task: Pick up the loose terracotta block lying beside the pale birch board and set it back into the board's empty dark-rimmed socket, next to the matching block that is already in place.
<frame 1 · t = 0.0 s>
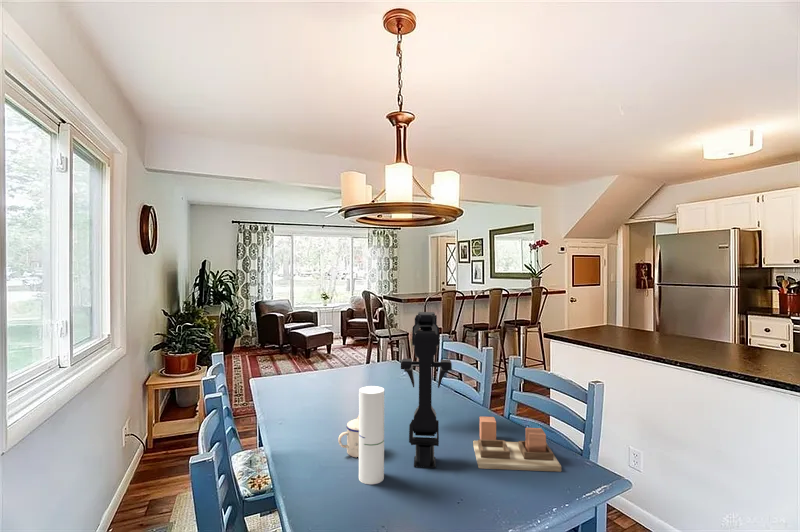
hand: (426, 387, 155), 15 cm above the table, tool pointing down, fingers open, 9 cm apart
cylindrical container: (371, 478, 118), on the table
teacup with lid: (356, 453, 133), on the table
socket board: (514, 457, 131), on the table
loose block: (487, 439, 144), on the table
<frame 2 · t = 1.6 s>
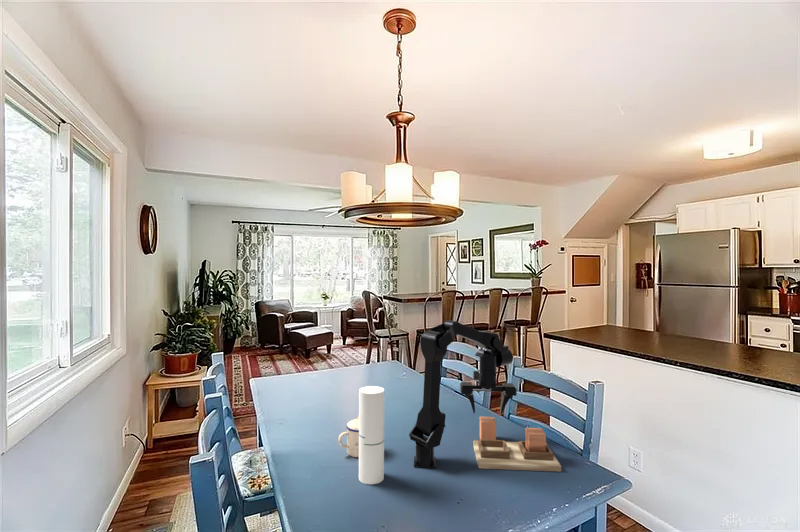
hand: (487, 413, 144), 9 cm above the table, tool pointing down, fingers open, 9 cm apart
nothing on the table moved.
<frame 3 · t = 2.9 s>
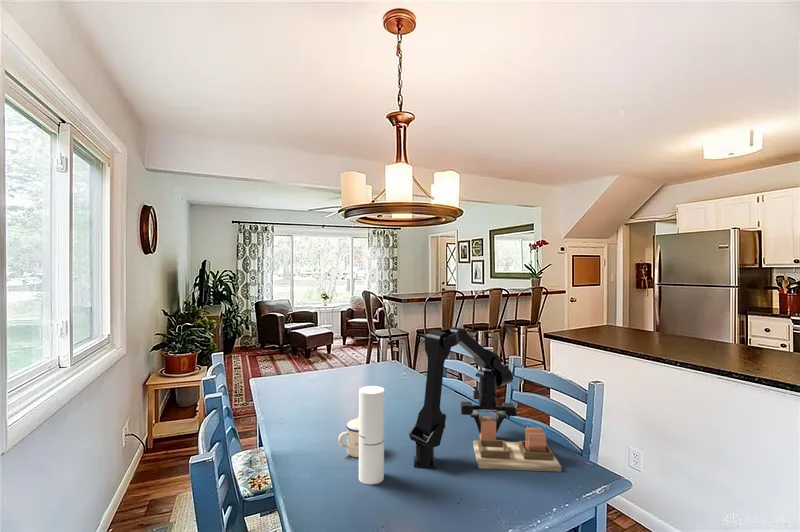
hand: (487, 433, 144), 2 cm above the table, tool pointing down, fingers closed on loose block, 5 cm apart
loose block: (487, 439, 144), on the table, touching gripper
everything else where it was.
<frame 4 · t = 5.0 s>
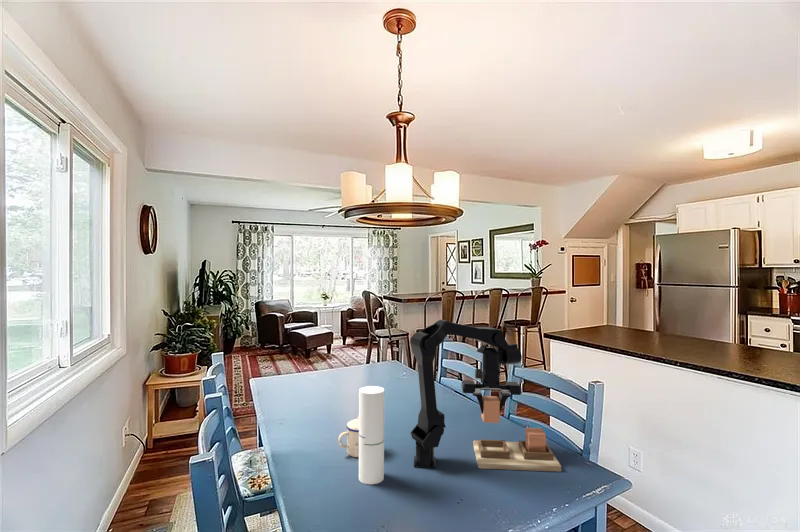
hand: (490, 413, 136), 12 cm above the table, tool pointing down, fingers closed on loose block, 5 cm apart
loose block: (490, 419, 136), point 10 cm above the table, touching gripper
everything else where it was.
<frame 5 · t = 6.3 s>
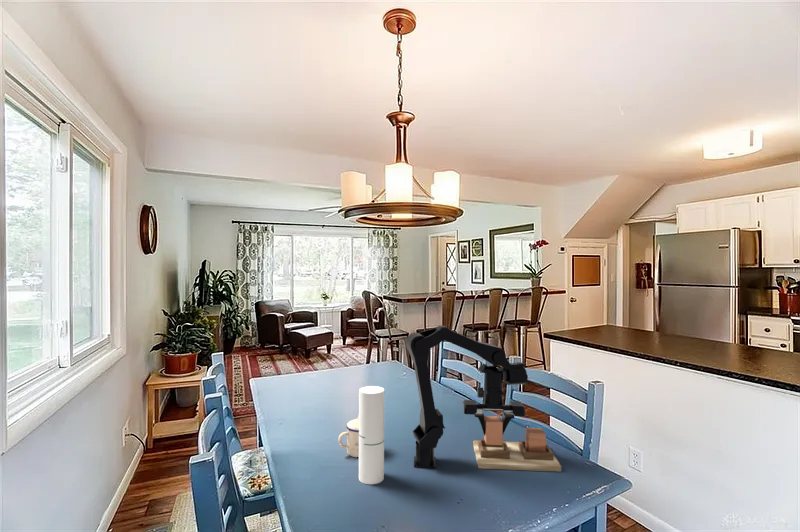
hand: (493, 435, 131), 7 cm above the table, tool pointing down, fingers closed on loose block, 5 cm apart
loose block: (493, 441, 131), point 5 cm above the table, touching gripper
everything else where it was.
when the fingers open (4 cm above the table, at t = 7.1 s): loose block stays where it is, resting on socket board.
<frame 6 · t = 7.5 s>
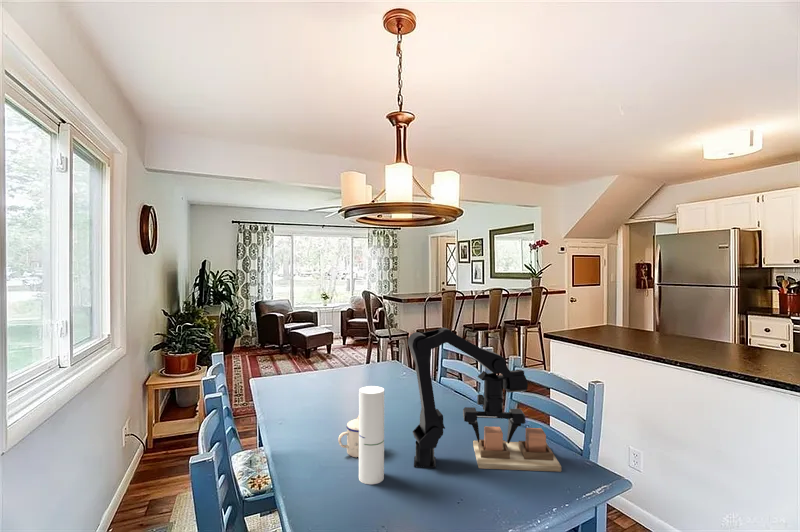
hand: (493, 442, 131), 4 cm above the table, tool pointing down, fingers open, 9 cm apart
loose block: (493, 451, 131), point 1 cm above the table, touching socket board
everything else where it was.
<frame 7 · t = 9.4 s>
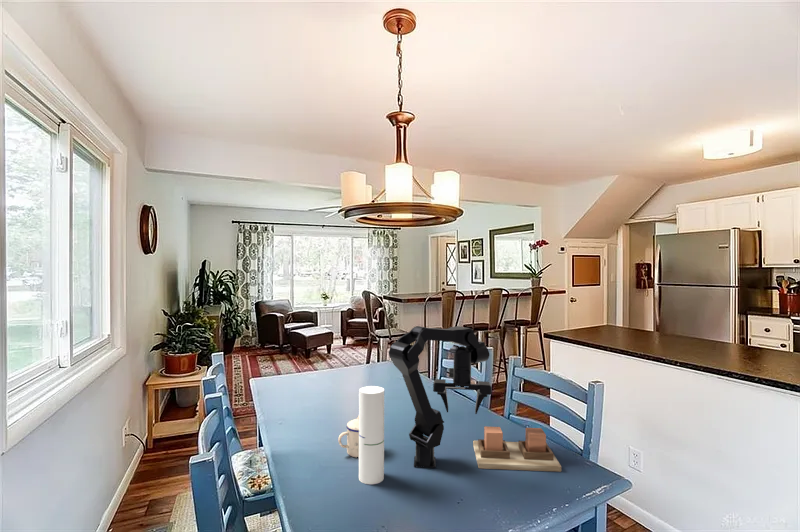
hand: (461, 412, 137), 12 cm above the table, tool pointing down, fingers open, 9 cm apart
nothing on the table moved.
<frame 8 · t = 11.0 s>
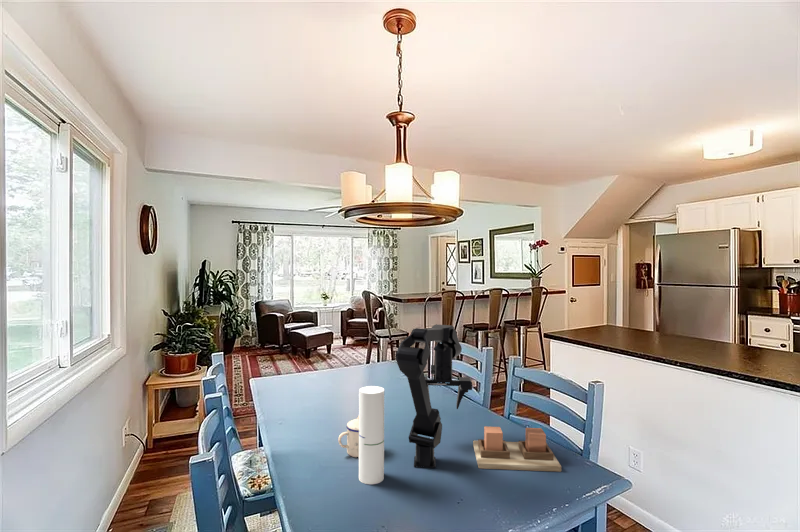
hand: (443, 408, 140), 12 cm above the table, tool pointing down, fingers open, 9 cm apart
nothing on the table moved.
at the end: loose block 0.1 cm from the target spot on the socket board, point 1.5 cm above the socket board's base; loose block tilted 0°; the gripper is holding nothing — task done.
